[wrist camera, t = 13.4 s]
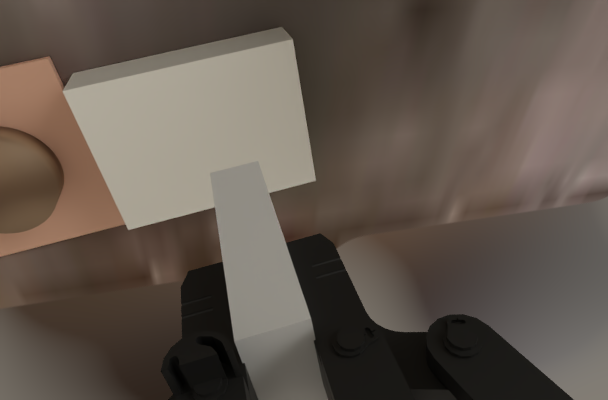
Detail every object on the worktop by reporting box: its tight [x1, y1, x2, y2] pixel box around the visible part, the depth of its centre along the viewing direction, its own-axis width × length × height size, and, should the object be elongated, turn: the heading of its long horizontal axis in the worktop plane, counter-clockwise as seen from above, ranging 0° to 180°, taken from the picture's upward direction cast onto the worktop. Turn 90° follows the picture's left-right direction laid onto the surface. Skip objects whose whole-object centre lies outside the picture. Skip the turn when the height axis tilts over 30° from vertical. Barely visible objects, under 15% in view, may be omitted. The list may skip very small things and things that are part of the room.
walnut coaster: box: [0, 126, 64, 234], centre depth 35 cm, size 8×8×2 cm
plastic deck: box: [63, 27, 316, 230], centre depth 37 cm, size 12×16×4 cm
